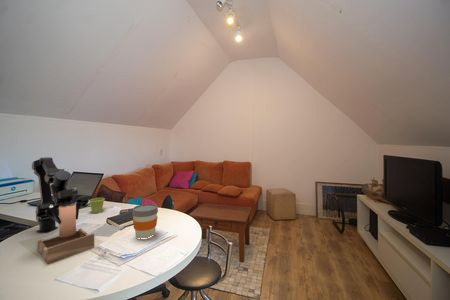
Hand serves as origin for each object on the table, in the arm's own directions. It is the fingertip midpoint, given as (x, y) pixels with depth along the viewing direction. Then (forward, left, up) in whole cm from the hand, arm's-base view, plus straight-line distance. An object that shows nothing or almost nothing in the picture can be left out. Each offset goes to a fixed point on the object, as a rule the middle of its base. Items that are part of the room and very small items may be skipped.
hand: (68, 221), depth 88 cm
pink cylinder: (-1, +1, -6) cm, 6 cm away
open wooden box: (-2, 0, -13) cm, 13 cm away
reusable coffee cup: (+26, +18, -14) cm, 35 cm away
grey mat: (+3, +19, -13) cm, 23 cm away
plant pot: (-26, +47, -14) cm, 55 cm away
